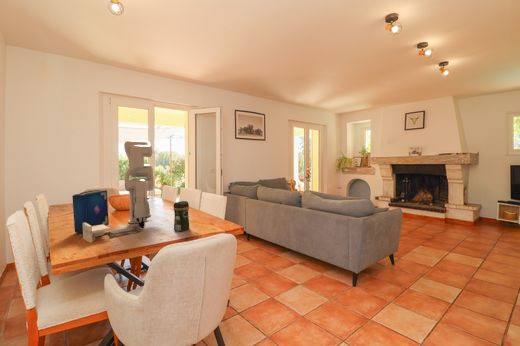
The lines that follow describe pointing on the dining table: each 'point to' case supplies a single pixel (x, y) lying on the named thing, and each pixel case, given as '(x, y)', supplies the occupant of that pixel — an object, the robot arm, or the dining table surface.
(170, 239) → the dining table surface
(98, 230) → the shelf
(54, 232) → the dining table surface
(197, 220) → the dining table surface
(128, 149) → the robot arm
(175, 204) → the coffee jar
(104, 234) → the guide rails
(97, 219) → the book
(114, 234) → the slate gray sliding drawer
